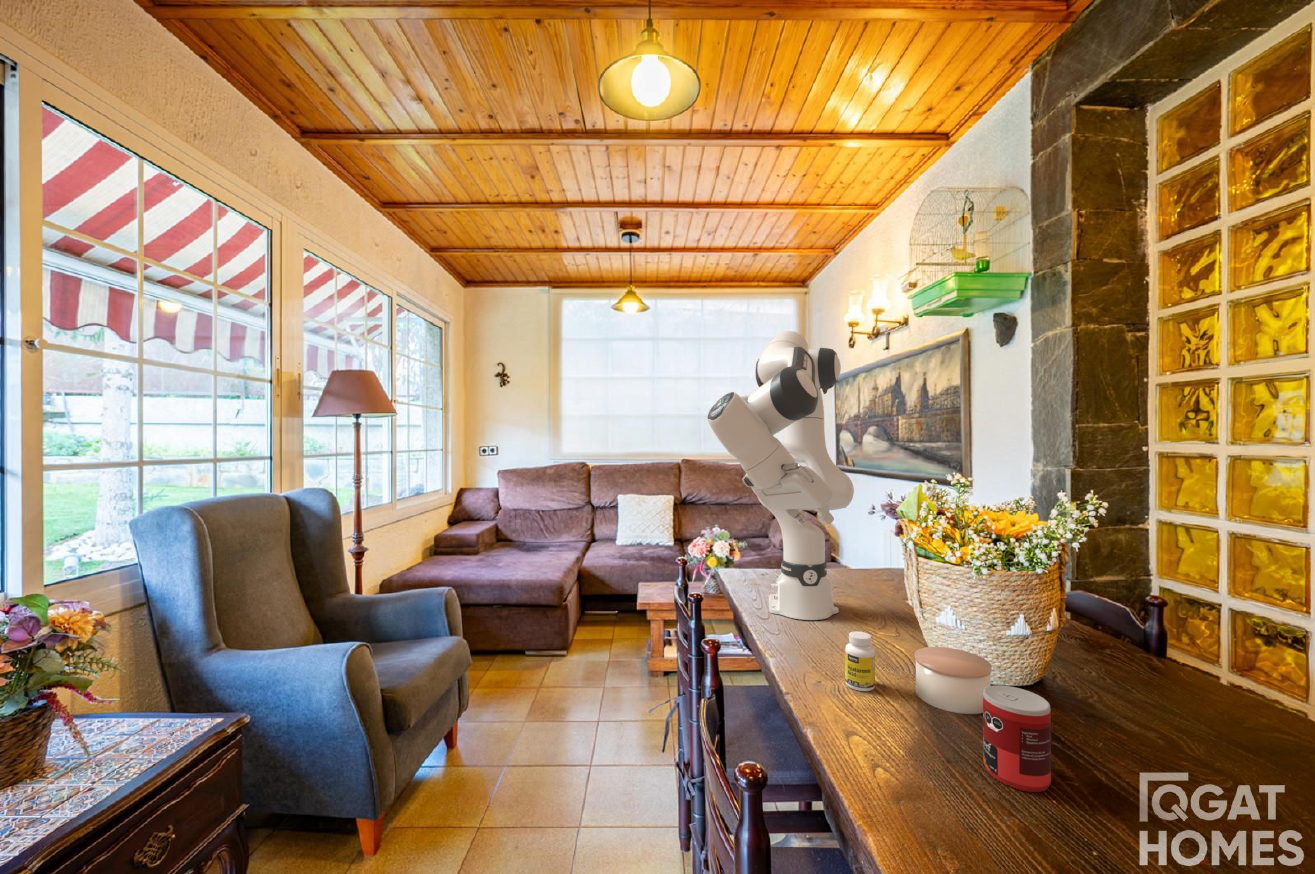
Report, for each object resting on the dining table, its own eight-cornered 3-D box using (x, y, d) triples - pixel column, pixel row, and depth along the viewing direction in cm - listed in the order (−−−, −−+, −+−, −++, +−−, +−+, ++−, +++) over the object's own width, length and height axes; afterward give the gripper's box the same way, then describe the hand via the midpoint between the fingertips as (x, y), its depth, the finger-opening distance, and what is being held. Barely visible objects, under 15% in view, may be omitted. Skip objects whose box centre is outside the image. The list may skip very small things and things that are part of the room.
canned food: (987, 752, 81) (987, 679, 81) (1053, 773, 76) (1052, 695, 76) (978, 777, 75) (978, 698, 75) (1049, 801, 70) (1048, 717, 70)
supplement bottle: (843, 688, 102) (842, 636, 102) (847, 677, 107) (847, 627, 107) (873, 694, 100) (873, 641, 100) (876, 682, 105) (876, 632, 105)
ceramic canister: (902, 682, 105) (902, 646, 105) (965, 682, 105) (965, 646, 105) (936, 715, 92) (936, 674, 92) (1008, 714, 93) (1007, 673, 93)
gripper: (810, 450, 94) (859, 510, 95) (758, 462, 114) (799, 512, 115) (787, 473, 92) (837, 534, 93) (738, 481, 112) (780, 532, 113)
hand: (815, 522), depth 104 cm, fingers open, 8 cm apart
